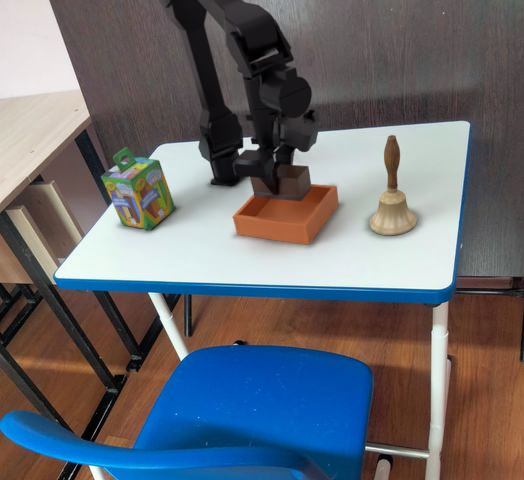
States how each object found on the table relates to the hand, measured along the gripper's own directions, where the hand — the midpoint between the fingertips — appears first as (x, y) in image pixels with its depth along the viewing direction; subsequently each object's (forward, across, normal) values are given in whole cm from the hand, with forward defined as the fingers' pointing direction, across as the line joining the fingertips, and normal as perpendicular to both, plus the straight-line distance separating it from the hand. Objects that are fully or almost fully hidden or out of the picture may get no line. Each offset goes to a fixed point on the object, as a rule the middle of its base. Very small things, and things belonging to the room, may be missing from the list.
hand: (281, 187), depth 98 cm
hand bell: (+7, +3, -20) cm, 21 cm away
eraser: (+1, 0, 0) cm, 1 cm away
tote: (+7, 0, 0) cm, 7 cm away
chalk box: (+7, -5, +32) cm, 33 cm away
